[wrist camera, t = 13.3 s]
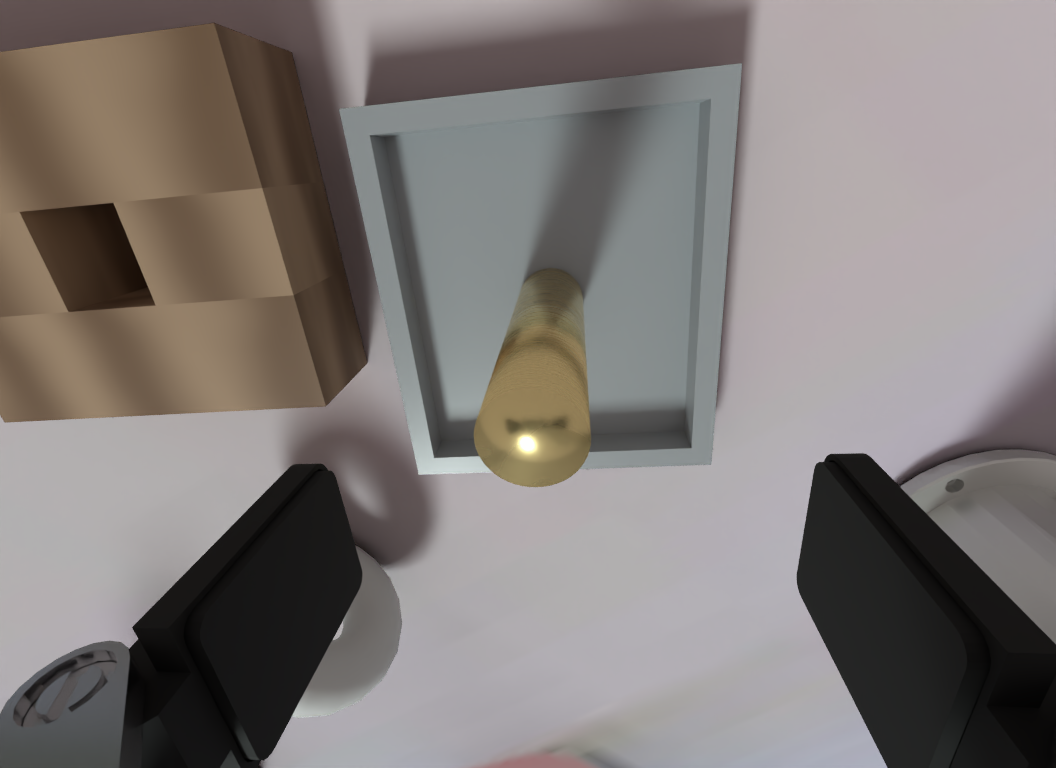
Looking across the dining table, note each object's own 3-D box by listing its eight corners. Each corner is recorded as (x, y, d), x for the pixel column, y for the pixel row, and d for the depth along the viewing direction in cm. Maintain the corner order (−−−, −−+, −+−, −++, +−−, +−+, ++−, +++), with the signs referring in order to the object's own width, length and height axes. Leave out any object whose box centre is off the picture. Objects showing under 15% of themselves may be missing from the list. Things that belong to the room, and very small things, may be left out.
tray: (722, 74, 20) (742, 63, 17) (698, 438, 27) (711, 464, 24) (363, 114, 21) (339, 109, 19) (430, 449, 28) (418, 474, 26)
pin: (581, 265, 22) (588, 385, 12) (584, 328, 24) (592, 485, 13) (516, 270, 23) (465, 390, 12) (522, 331, 24) (481, 488, 13)
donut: (431, 574, 32) (379, 736, 23) (404, 602, 34) (344, 766, 25) (296, 493, 30) (182, 637, 21) (273, 526, 32) (156, 675, 23)
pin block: (291, 52, 20) (213, 23, 16) (367, 363, 26) (325, 406, 22) (-45, 95, 22) (-203, 79, 18) (95, 379, 28) (4, 422, 23)
